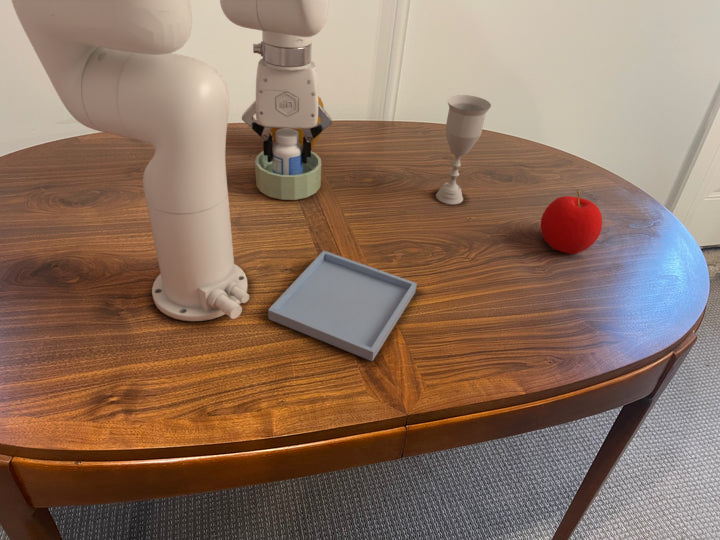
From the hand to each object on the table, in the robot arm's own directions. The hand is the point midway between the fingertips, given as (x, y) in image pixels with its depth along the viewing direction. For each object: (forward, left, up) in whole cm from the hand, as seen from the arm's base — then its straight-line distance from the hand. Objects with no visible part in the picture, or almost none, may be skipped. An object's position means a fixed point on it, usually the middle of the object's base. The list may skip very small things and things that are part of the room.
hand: (287, 158), depth 95 cm
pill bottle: (0, 0, -5) cm, 5 cm away
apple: (+9, -11, -6) cm, 15 cm away
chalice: (-23, -19, -6) cm, 31 cm away
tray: (-29, +17, -6) cm, 34 cm away
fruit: (-45, -20, -6) cm, 50 cm away
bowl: (0, 0, -6) cm, 6 cm away
